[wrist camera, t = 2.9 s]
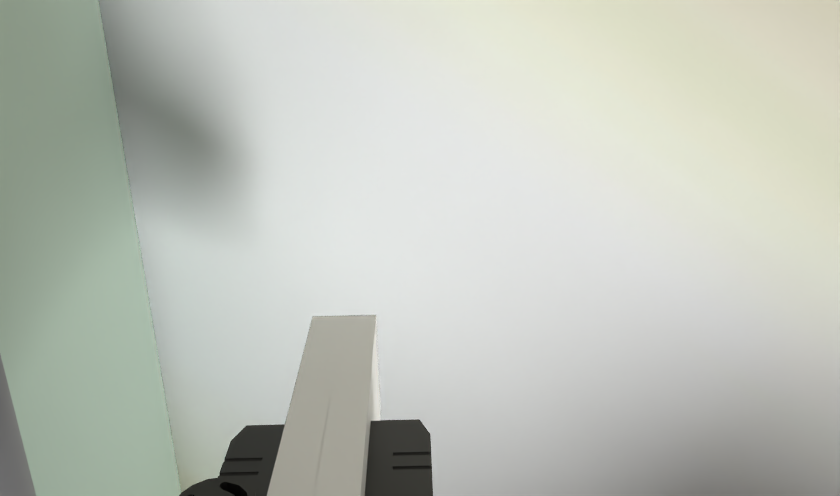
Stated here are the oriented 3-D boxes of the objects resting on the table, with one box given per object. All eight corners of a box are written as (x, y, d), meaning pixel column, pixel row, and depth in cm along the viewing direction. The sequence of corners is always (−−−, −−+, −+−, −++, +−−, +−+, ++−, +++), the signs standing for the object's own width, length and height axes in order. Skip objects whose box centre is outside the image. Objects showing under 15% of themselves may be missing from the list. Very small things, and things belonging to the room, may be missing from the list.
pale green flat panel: (16, -138, 19) (-314, -205, 10) (83, -140, 19) (-191, -209, 10) (149, 552, 26) (26, 842, 18) (197, 550, 26) (96, 840, 18)
